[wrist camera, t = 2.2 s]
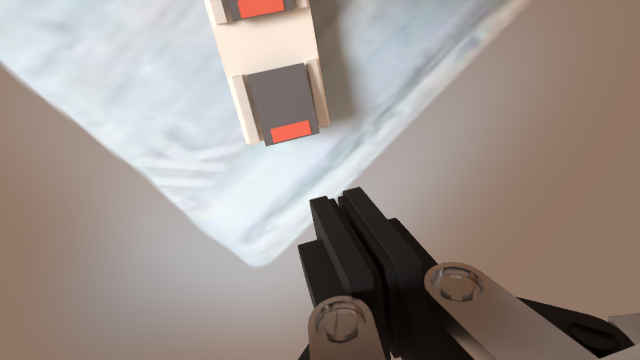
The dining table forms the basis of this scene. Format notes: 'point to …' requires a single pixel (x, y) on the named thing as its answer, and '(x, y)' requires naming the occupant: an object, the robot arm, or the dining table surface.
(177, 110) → the dining table surface
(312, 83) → the rocker switch panel
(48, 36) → the dining table surface
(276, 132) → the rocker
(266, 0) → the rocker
